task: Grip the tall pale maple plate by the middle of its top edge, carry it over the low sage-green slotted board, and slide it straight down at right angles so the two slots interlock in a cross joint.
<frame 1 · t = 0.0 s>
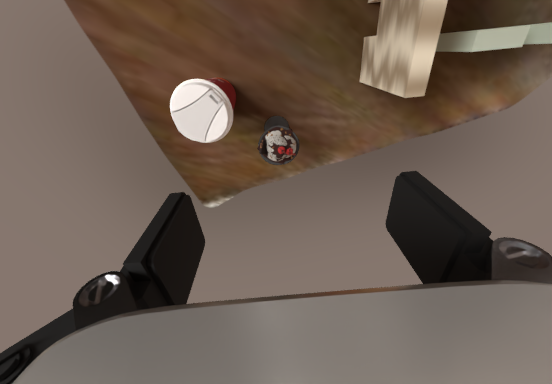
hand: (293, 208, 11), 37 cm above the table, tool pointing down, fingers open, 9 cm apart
sage board: (482, 37, 38), on the table
maple plate: (373, 19, 37), on the table
coffee cup: (219, 95, 42), on the table
sundae: (276, 127, 46), on the table
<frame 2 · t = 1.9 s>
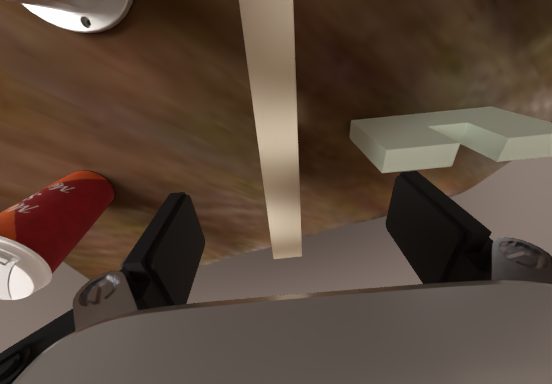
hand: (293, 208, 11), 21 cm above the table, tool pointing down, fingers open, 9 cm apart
sage board: (418, 122, 30), on the table
maple plate: (271, 105, 28), on the table
coffee cup: (92, 187, 33), on the table
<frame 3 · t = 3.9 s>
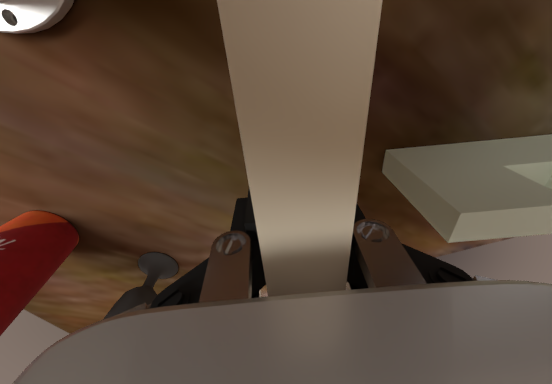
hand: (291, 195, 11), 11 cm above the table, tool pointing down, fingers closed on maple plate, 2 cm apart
sage board: (475, 152, 22), on the table
maple plate: (280, 131, 21), on the table, touching gripper
coffee cup: (51, 230, 26), on the table
sundae: (159, 263, 30), on the table
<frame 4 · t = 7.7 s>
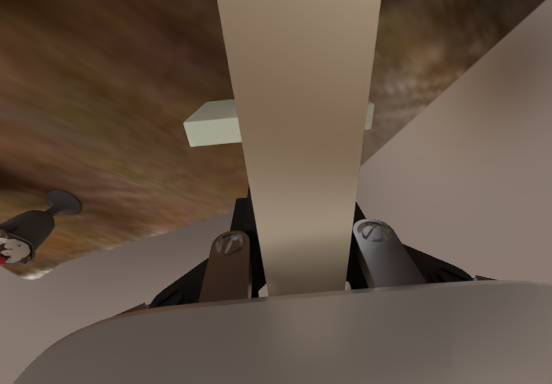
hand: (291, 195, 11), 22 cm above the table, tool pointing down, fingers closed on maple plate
sage board: (275, 104, 30), on the table
maple plate: (280, 131, 21), point 12 cm above the table, touching gripper
sundae: (65, 201, 37), on the table
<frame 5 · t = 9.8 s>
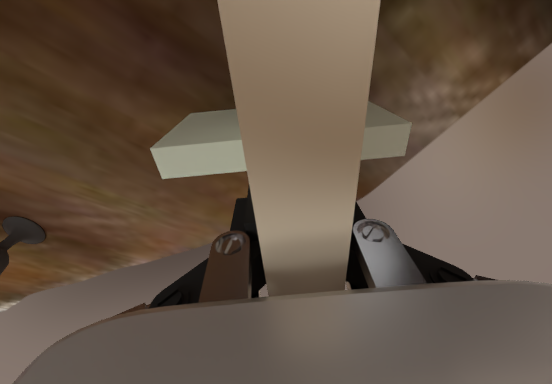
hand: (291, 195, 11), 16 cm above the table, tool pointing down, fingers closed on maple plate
sage board: (275, 116, 25), on the table
maple plate: (280, 131, 21), point 5 cm above the table, touching gripper
sundae: (26, 229, 32), on the table
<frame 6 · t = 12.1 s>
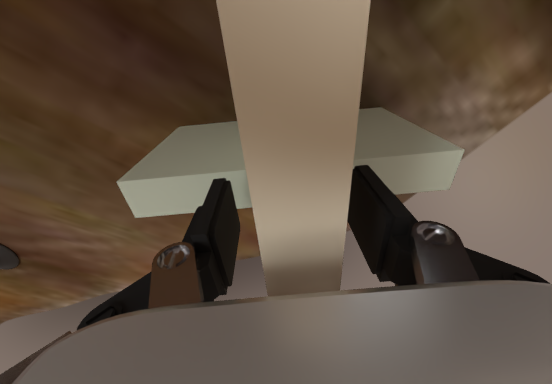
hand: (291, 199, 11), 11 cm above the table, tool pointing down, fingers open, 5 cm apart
sage board: (280, 130, 21), on the table
maple plate: (279, 130, 21), on the table, touching sage board
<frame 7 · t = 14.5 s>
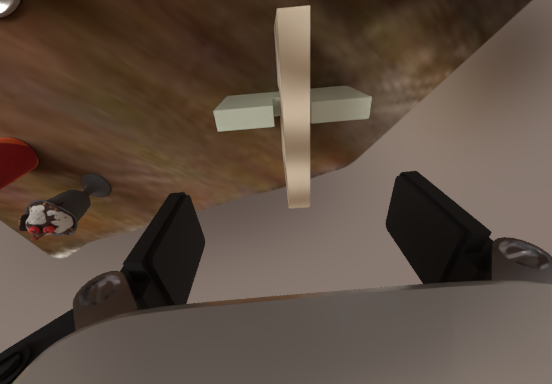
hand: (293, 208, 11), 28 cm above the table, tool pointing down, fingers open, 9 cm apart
sage board: (287, 99, 35), on the table
maple plate: (286, 99, 35), on the table, touching sage board
coffee cup: (19, 153, 39), on the table
sundae: (97, 184, 42), on the table
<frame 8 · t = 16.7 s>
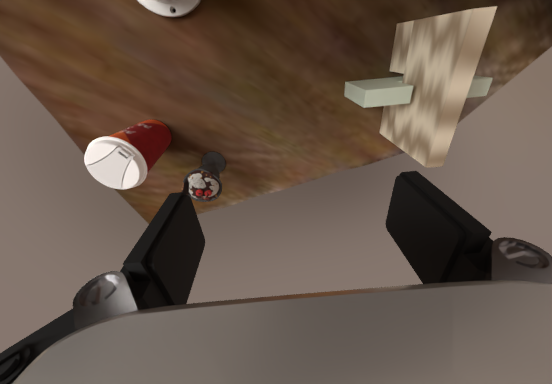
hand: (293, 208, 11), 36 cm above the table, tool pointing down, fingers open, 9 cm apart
sage board: (394, 84, 41), on the table
maple plate: (393, 84, 41), on the table, touching sage board
coffee cup: (156, 134, 45), on the table
sundae: (214, 161, 49), on the table
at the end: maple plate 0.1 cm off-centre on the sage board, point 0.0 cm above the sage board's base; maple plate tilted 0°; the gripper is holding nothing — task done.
